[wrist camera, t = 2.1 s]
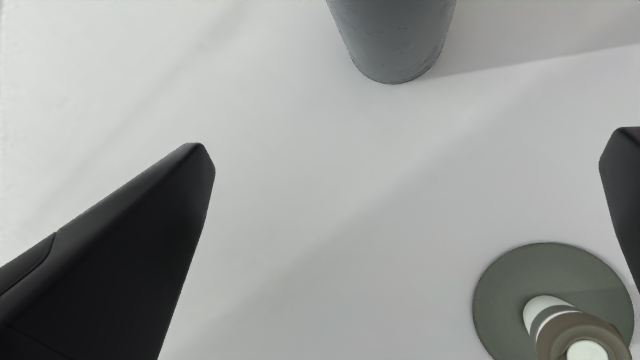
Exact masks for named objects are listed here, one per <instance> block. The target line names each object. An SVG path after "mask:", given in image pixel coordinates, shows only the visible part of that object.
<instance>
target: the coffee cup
mask: <svg viewBox="0 0 640 360" xmlns="http://www.w3.org/2000/svg"><path fill="white" fill-rule="evenodd" d="M473 319H474V324H475V328H476V331H477V334H478V336H479V338H480V340H481V342H482V344H483V345H484V347H485V348H486V350H487V351H488V353H489V354H490V355H491V356H492V357H493V359H494V360H632V356H631V353H630V350H629V348H628V347H629V345H630V342H631V339H632V335H633V330H634V311H633V306H632V302H631V299H630V296H629V294H628V291H627V289H626V287H625V285H624V284H623V282H622V281H621V279H620V278H619V277H618V276H617V274H616V273H615V272H614V271H613V270H612V269H611V268H610V267H609V266H608V265H607V264H605V263H604V262H603V261H601V260H600V259H599V258H597V257H595V256H594V255H592V254H590V253H588V252H586V251H584V250H581V249H579V248H576V247H572V246H568V245H563V244H556V243H538V244H531V245H526V246H523V247H519V248H517V249H514V250H512V251H510V252H508V253H506V254H505V255H503V256H501V257H500V258H499V259H497V260H496V261H495V262H494V263H493V264H492V265H491V266H490V267H489V268H488V269H487V270H486V272H485V273H484V274H483V276H482V277H481V279H480V281H479V283H478V285H477V288H476V291H475V295H474V300H473Z"/></svg>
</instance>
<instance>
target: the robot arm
mask: <svg viewBox="0 0 640 360" xmlns="http://www.w3.org/2000/svg"><path fill="white" fill-rule="evenodd" d="M599 172H600V176H601V180H602V184H603V188H604V192H605V196H606V200H607V204H608V207H609V211H610V215H611V219H612V223H613V227H614V230H615V233H616V236H617V239H618V242H619V244H620V247H621V249H622V252H623V254H624V257H625V259H626V262H627V264H628V267H629V269H630V272H631V274H632V277H633V279H634V281H635V284H636V286H637V289H638V291H639V294H640V126H637V127H620V128H618V129H616V130H615V131H614V132H613V134H612V135H611V137H610V139H609V141H608V143H607V145H606V147H605V149H604V151H603V153H602V155H601V157H600V160H599ZM214 179H215V166H214V164H213V162H212V160H211V158H210V156H209V154H208V152H207V151H206V149H205V147H204V145H203V144H201V143H186V144H183V145H182V146H180V147H179V148H177V149H176V150H175V151H173V152H172V153H170V154H169V155H167V156H166V157H164V158H163V159H161V160H160V161H158V162H157V163H155V164H154V165H152V166H151V167H150V168H148V169H147V170H145V171H144V172H142V173H141V174H139V175H138V176H136V177H135V178H133V179H132V180H130V181H129V182H127V183H126V184H125V185H123V186H122V187H120V188H119V189H117V190H116V191H114V192H113V193H111V194H110V195H108V196H107V197H105V198H104V199H103V200H101V201H100V202H98V203H97V204H95V205H94V206H92V207H91V208H89V209H88V210H86V211H85V212H83V213H82V214H80V215H79V216H78V217H76V218H75V219H73V220H72V221H70V222H69V223H67V224H66V225H64V226H63V227H61V228H60V229H58V231H57V232H54V233H52V234H51V235H49V236H48V237H47V238H45V239H44V240H42V241H41V242H39V243H38V244H36V245H35V246H33V247H32V248H30V249H29V250H27V251H26V252H24V253H23V254H21V255H20V256H18V257H17V258H15V259H13V260H12V261H10V262H9V263H7V264H5V265H4V266H2V267H1V268H0V360H157V359H158V356H159V354H160V351H161V348H162V345H163V342H164V339H165V336H166V333H167V330H168V328H169V325H170V322H171V319H172V316H173V313H174V310H175V307H176V305H177V302H178V299H179V296H180V293H181V290H182V287H183V284H184V281H185V279H186V276H187V273H188V270H189V267H190V264H191V261H192V258H193V255H194V253H195V250H196V247H197V244H198V241H199V238H200V235H201V232H202V229H203V226H204V222H205V218H206V214H207V210H208V205H209V201H210V196H211V192H212V188H213V183H214Z"/></svg>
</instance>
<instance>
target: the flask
mask: <svg viewBox="0 0 640 360" xmlns="http://www.w3.org/2000/svg"><path fill="white" fill-rule="evenodd" d="M456 1H457V0H326V2H327V4H328V6H329V9H330V11H331V13H332V15H333V18H334V20H335V22H336V25H337V27H338V29H339V31H340V34H341V36H342V38H343V40H344V43H345V45H346V47H347V49H348V52H349V54H350V56H351V58H352V60H353V62H354V64H355V65H356V67H357V68H358V69H359V70H360V71H361V72H362V73H363V74H364V75H365V76H367V77H368V78H370V79H372V80H374V81H377V82H380V83H386V84H398V83H404V82H408V81H410V80H413V79H415V78H417V77H419V76H420V75H422V74H423V73H425V72H426V71H427V70H428V69H429V68H430V67H431V66H432V65H433V64H434V62H435V61H436V59H437V58H438V56H439V54H440V52H441V50H442V47H443V44H444V41H445V38H446V34H447V31H448V28H449V24H450V21H451V18H452V14H453V11H454V8H455V4H456Z"/></svg>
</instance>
